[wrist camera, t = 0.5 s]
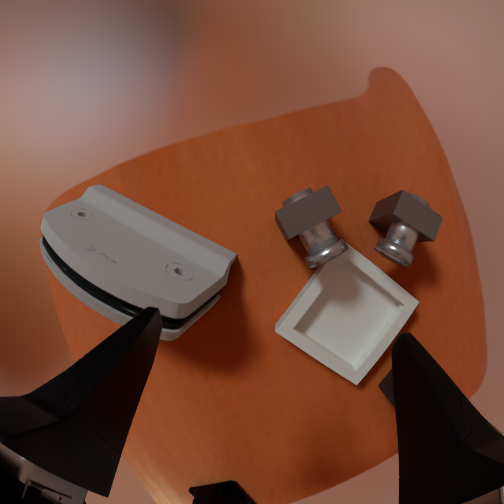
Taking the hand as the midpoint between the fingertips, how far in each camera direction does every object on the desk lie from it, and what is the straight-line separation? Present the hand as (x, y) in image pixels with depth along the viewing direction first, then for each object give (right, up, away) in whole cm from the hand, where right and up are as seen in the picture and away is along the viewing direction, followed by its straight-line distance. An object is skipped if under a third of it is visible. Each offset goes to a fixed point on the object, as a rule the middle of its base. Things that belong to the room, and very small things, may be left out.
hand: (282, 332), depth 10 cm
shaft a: (+11, +5, +14) cm, 18 cm away
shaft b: (+4, +5, +14) cm, 15 cm away
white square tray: (+7, -2, +14) cm, 16 cm away
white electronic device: (-11, +3, +16) cm, 20 cm away
